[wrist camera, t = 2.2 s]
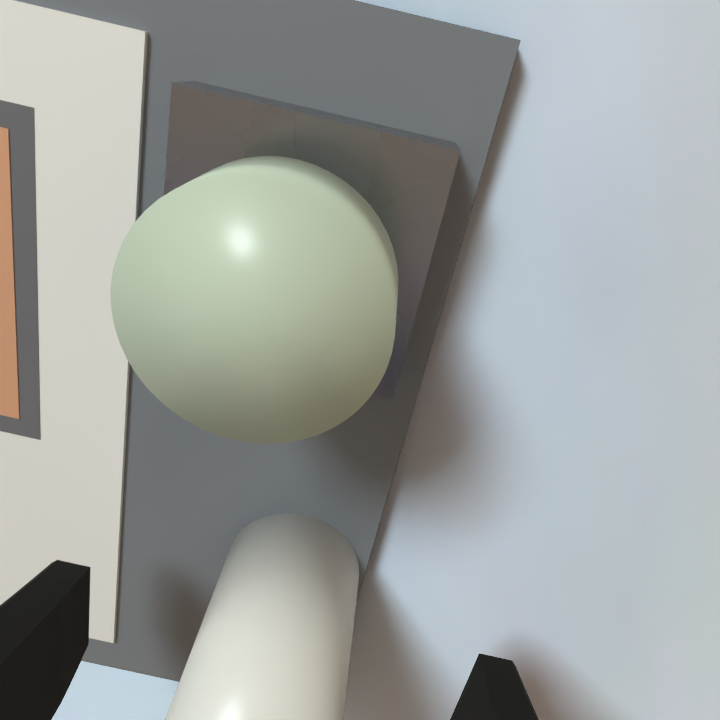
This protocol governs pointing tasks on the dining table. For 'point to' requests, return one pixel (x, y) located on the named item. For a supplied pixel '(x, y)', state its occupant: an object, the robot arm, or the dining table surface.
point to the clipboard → (94, 275)
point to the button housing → (335, 154)
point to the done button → (258, 300)
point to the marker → (275, 627)
